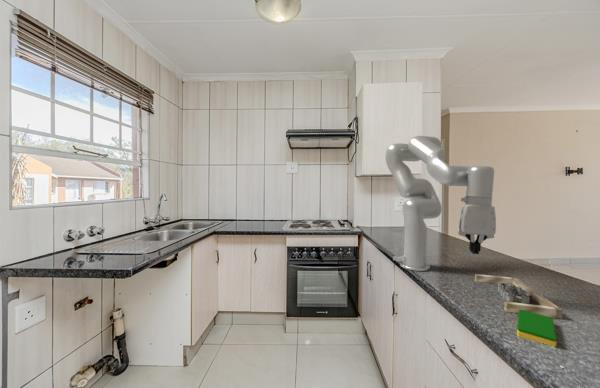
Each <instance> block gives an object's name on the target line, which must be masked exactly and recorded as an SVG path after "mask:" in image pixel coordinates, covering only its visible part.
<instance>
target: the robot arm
mask: <svg viewBox="0 0 600 388" xmlns="http://www.w3.org/2000/svg"><path fill="white" fill-rule="evenodd" d="M445 157H446V151H445V149H444V148H443V147H442V141H441V140H440V138H438V137H435V136H428V135H427V136H426V135H416V136H413V137H412V138H410V140H409V141H408V143H402V142H401V143H400V142H397V143H393V144H391V145H389V146H388V147H387V148H386V152H385V163H386V166H387V168H388V170H389V171H390V173H391V175H392V178H393V180H394V183H395V185H396V186H395V187H396V188H397V191H398V193H399V195H400V196H401V197H402V198H404V199H407V200H406V201H404V203H403V204H402V214H403V220H404V221H403V223H404V224H403V225H404V226H403V227H404V228H403V229H404V230H403V232H404V233H403V234H404V235H403V236H404V237H403V254H402V255H400V256H397V255H394V256H392V259H393V261H396V262H399V266H400V267H402V268H403V269H406V270H409V271H416V272H425V271H430V269H431V268H430V267H431V266H430V264H427V251H428V250H427V244H428V243H427V242H428V228H427V224H426V222H425V221H424V220H431V219H436V218H438V217H440V215H441V213H442V211H443V209H442V204H441V201H440V199H439V197H438V195H437V193H436V190H435V188H434V186H433V184H432V183H431V182H430V181H429V180H428V179H425V178H416V177H414V175H413V173H412V171H411V169H410V167H409V166H408V165H407V164H406V163H404V162H419V161H422V162H423V163H424V164H426V170H427V172H428V174H429V176H430V177H432V178H433V179H434V180H435V181H436V182H438V183H439V184H441V185H443V186H446V187H466V192H465V193H466V195H465V196H464V197H461V199H460V200H461V202H463V203H465V204H463V205H462V208H461V212H460V216H459V223H458V224H459V225H458V229H459V230H458V232H457V233H458V235H459V236H462V237H465V238H466V239H467V240H468V241H469V247H468V250H469V251H470V252H471V254H473V255H475V254H476V255H479V254H480V252H481V247H482V244H483V242H485V241H486V240H487V239H489V240H490V239H494V238H495V234H496V232H497V231H496V230H497V221H496V219H497V218H496V208H495V206H493V205H492V203H493V202H492V201H493V191H494V180H495V179H494V178H495V169H494V168H493V166H489V165H488V166H487V165H485V166H483V165H479V166H478V165H475V166H469V165H468V166H465V165H464V166H463V165H450V164H448V163H447V162H446V161H444V160H445ZM475 235H476V238H475Z"/></svg>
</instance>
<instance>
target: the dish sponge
mask: <svg viewBox="0 0 600 388" xmlns="http://www.w3.org/2000/svg"><path fill="white" fill-rule="evenodd" d="M516 326H517V328H516V329H517V330H516V336H517V337H519V338H522V337H523V339H525V338H526V340H528V339H529V340H530V341H532V342H535V341H537V342H536V343H538V342H541V343H540V344H542V343H544V344H543V345H545V344H548V345H552V346H554V347H553V348H556V347H557V341H558V339H557V335H556V334H557V333H556V329H555V322H554V318H552V317H547V316H543V315H539V314H535V313H531V312H527V311H523V310H519V312H518V313H517V325H516ZM548 345H547V346H548ZM552 346H551V347H552ZM555 346H556V347H555Z"/></svg>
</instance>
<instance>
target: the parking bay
mask: <svg viewBox="0 0 600 388" xmlns="http://www.w3.org/2000/svg"><path fill="white" fill-rule="evenodd" d="M474 281H475V282H476V283H487V284H495V285H496V284H497V285H498V281H500V282H502V283H507V284H511V285H513V284H514V285H515V286H516V287H518V286H520V287H521V288H522V289H523V290H526V291H527V292H530V295H528V296H529V298H530V301H533V302H534V303H536V304H530V303H529V304H523V303H520V302H515V301H514V302H509V301H507V300H504V307H503V308H504V311H505V312H506V313H515V314H518V312H519V310H523V311H527V312H531V313H535V314H539V315H543V316H547V317H551V318H553V319H560V320H561V319H562V320H563V315H564V310H563V309H562V308H560V307H559V306H557V305H556V304H554V303H553V302H552V301H551V300H548V299H547V298H546V297H544V296H543V295H541V294H540V293H538V292H537V291H536V290H534V289H532V287H529V286H528V285H526V284H525V283H523V282H522V281H521V280H520V279H518V278H516V277H507V276H498V275H490V274H488V275H487V274H477V273H475V274H474Z"/></svg>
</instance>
